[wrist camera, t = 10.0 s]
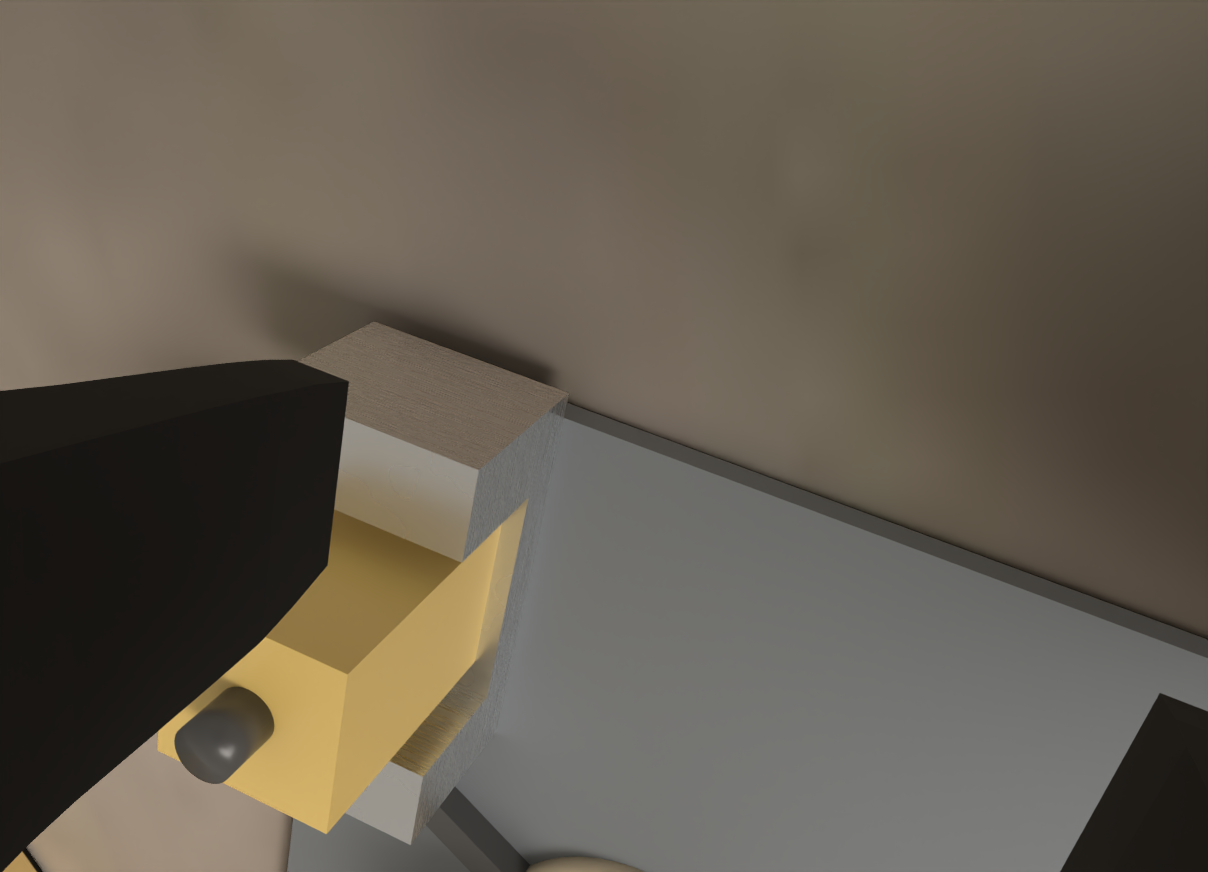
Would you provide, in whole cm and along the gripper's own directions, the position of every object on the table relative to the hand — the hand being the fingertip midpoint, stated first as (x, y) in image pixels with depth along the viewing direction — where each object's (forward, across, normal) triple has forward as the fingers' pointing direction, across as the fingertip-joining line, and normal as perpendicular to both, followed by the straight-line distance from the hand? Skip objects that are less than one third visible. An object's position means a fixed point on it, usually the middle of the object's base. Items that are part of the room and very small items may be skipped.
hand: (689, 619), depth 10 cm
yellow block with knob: (+8, +6, +7) cm, 13 cm away
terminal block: (+9, +6, +7) cm, 13 cm away
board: (+10, 0, +12) cm, 16 cm away
